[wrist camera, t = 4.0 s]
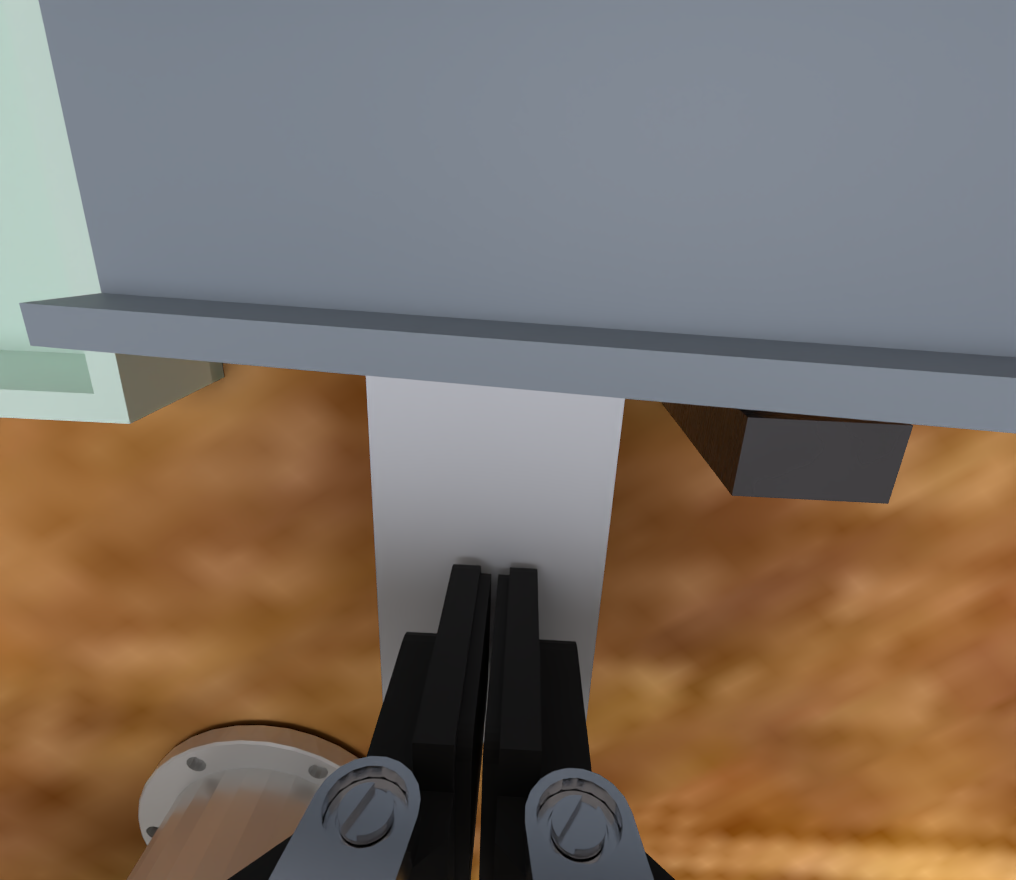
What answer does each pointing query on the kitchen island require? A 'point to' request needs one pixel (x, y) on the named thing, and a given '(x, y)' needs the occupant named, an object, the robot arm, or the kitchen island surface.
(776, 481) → the lever stand
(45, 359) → the bin
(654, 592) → the kitchen island surface
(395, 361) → the lever
